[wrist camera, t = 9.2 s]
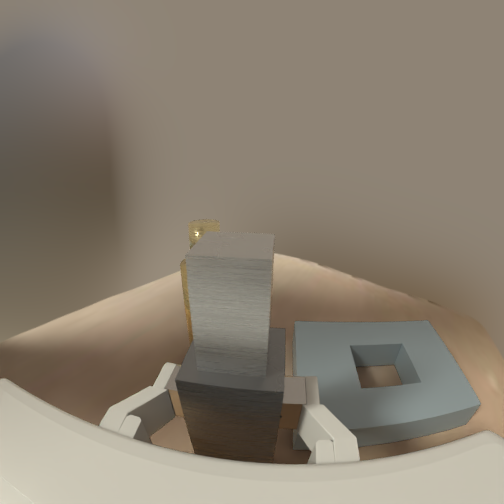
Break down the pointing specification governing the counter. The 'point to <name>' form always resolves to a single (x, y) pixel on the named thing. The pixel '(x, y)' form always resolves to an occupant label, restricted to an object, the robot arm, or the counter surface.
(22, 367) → the counter surface
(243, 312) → the square bit
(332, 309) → the counter surface
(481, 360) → the counter surface
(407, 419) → the socket plate
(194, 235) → the gold bottle
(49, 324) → the counter surface
